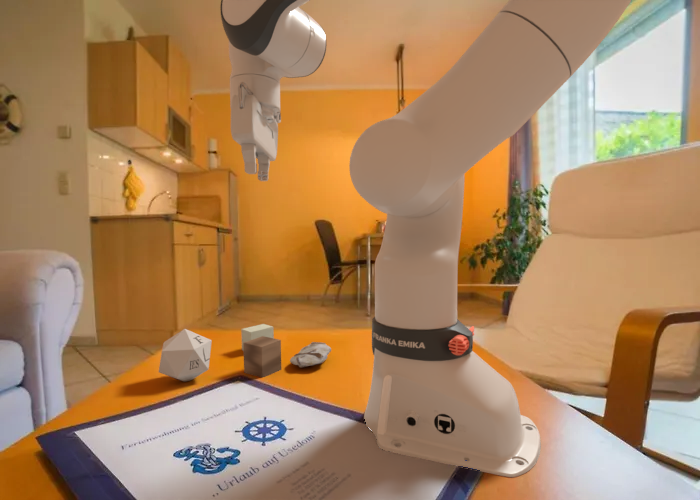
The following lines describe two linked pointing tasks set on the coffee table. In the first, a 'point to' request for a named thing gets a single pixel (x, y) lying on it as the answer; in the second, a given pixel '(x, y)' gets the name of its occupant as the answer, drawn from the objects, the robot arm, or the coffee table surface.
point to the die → (185, 355)
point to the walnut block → (262, 356)
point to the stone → (311, 354)
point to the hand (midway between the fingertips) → (257, 177)
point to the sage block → (256, 332)
